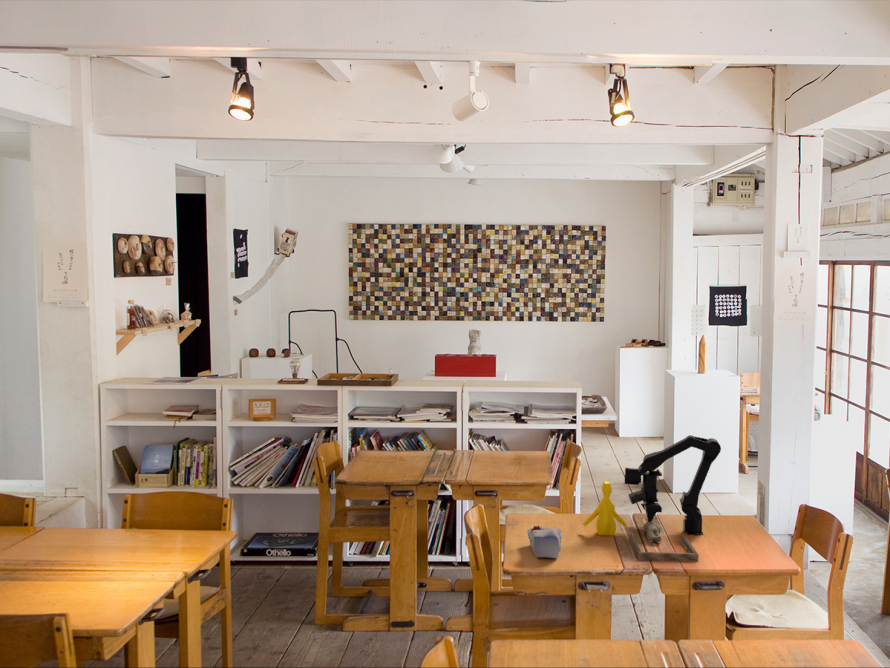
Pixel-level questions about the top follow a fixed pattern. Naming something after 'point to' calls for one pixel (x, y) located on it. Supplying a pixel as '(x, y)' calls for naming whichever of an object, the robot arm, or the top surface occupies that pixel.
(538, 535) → the grey tapered container
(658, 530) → the sculpture
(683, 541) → the holder
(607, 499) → the figure statuette
